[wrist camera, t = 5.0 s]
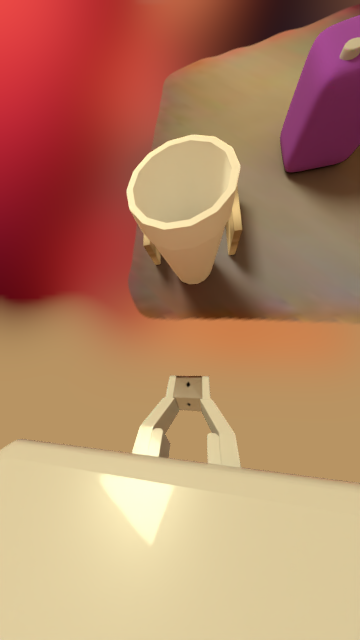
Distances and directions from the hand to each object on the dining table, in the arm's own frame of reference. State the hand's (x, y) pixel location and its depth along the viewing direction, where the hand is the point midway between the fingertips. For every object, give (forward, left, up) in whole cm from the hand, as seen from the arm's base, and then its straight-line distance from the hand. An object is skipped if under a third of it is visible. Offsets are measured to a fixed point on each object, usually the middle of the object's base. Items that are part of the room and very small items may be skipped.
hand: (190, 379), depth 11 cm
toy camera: (+1, -42, -11) cm, 44 cm away
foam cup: (+8, -14, -11) cm, 19 cm away
